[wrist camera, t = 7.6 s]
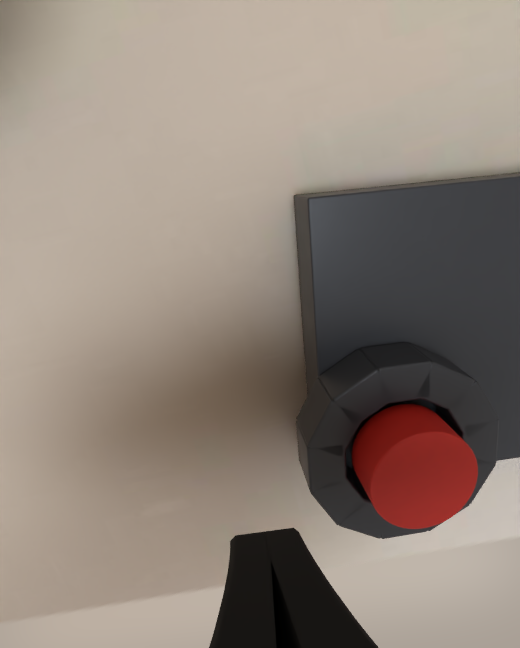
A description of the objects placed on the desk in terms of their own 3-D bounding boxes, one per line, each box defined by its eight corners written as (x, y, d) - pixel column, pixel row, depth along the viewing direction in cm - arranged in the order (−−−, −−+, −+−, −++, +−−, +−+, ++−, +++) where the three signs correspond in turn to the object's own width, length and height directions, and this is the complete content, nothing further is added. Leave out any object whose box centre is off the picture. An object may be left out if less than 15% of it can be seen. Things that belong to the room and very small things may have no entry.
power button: (449, 396, 15) (481, 424, 13) (447, 484, 16) (476, 520, 14) (349, 410, 14) (368, 441, 13) (352, 499, 15) (371, 537, 14)
